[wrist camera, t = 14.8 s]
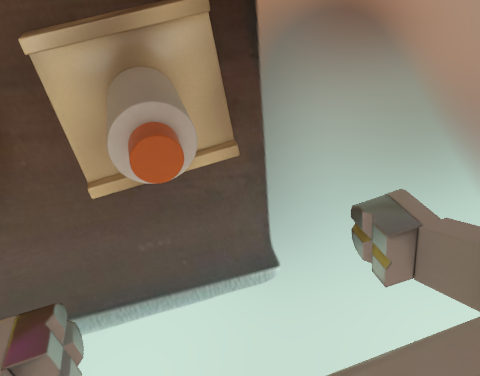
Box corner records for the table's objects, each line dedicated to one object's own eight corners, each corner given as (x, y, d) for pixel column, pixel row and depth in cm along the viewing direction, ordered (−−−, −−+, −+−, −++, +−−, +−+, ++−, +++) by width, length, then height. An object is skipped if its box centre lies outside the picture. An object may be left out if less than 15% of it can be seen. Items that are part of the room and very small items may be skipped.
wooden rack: (200, -9, 28) (207, -6, 26) (231, 143, 34) (240, 155, 32) (24, 32, 26) (17, 38, 24) (92, 184, 32) (92, 199, 30)
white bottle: (167, 58, 28) (192, 102, 19) (184, 123, 30) (213, 186, 22) (96, 76, 27) (91, 129, 19) (120, 141, 30) (125, 213, 21)
